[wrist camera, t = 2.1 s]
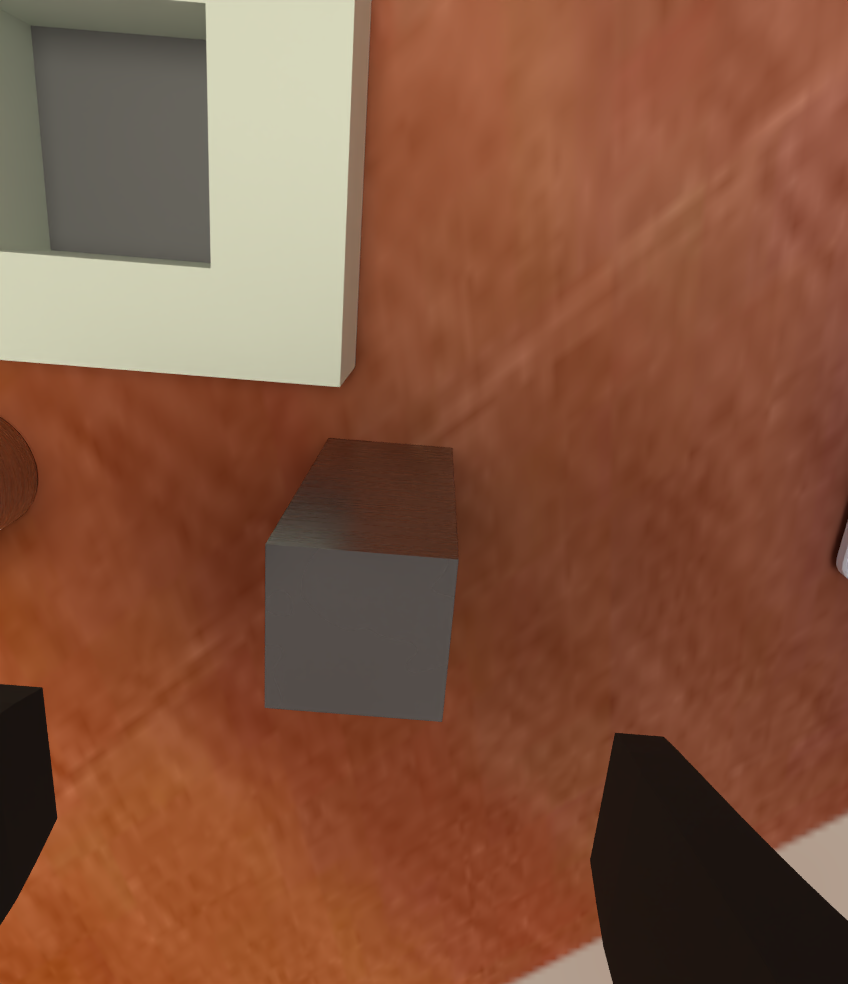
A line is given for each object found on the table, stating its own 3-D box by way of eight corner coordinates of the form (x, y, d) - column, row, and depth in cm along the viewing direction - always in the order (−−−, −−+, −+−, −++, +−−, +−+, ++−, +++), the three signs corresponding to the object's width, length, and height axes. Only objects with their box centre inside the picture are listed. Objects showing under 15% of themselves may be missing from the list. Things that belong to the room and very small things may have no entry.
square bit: (452, 447, 18) (458, 559, 12) (441, 560, 19) (442, 721, 13) (328, 438, 18) (265, 544, 12) (325, 551, 19) (264, 707, 13)
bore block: (374, -66, 15) (359, -134, 12) (355, 366, 18) (340, 387, 15) (-105, -105, 15) (-224, -182, 12) (-46, 334, 18) (-131, 349, 15)
